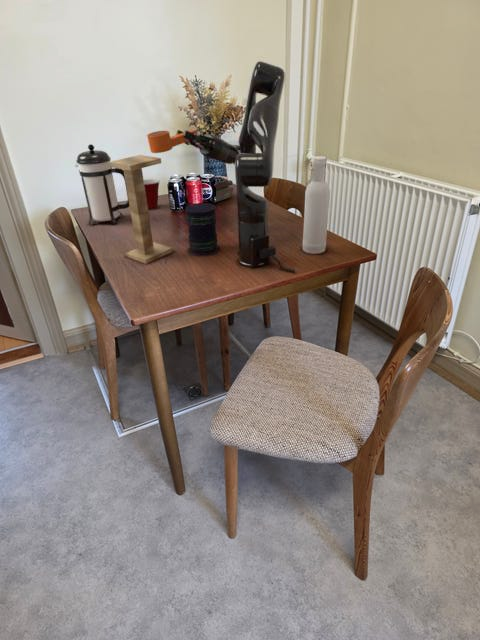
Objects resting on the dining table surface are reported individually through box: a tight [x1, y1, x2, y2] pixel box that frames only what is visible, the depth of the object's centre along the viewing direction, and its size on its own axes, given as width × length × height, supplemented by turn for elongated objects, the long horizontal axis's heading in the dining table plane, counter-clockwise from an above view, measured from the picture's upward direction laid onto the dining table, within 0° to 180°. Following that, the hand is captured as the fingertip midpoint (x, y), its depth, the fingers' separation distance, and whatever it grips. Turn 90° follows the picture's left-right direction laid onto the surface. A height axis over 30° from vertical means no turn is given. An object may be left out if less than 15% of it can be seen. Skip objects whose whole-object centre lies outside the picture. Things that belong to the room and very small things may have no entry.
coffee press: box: [74, 144, 130, 226], centre depth 169 cm, size 17×16×30 cm
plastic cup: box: [143, 178, 161, 211], centre depth 187 cm, size 11×11×12 cm
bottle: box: [302, 155, 331, 255], centre depth 136 cm, size 8×8×30 cm
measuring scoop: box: [146, 129, 198, 154], centre depth 137 cm, size 19×7×5 cm, turn 141°
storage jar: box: [185, 202, 218, 256], centre depth 143 cm, size 10×10×15 cm
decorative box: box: [204, 175, 234, 204], centre depth 192 cm, size 13×20×10 cm, turn 134°
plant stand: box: [109, 154, 173, 265], centre depth 136 cm, size 12×10×31 cm
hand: (181, 133), depth 139 cm, fingers closed on measuring scoop, 3 cm apart
